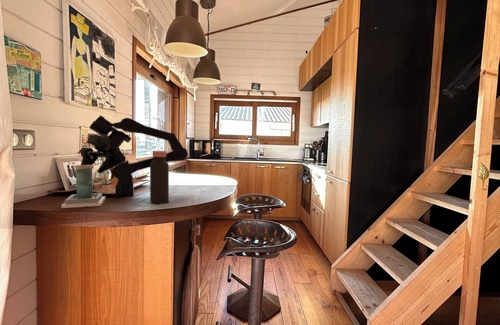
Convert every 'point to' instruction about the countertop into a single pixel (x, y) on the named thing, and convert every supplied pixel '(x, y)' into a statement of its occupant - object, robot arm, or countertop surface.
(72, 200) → the grey flat square tray
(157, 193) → the bottle
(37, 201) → the countertop surface
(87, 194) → the bobbin
